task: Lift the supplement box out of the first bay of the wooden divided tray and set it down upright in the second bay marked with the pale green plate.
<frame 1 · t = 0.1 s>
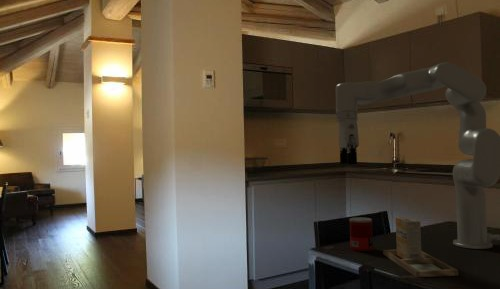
hand: (348, 163, 144), 31 cm above the table, tool pointing down, fingers open, 9 cm apart
wooden divided tray: (417, 263, 123), on the table
supplement box: (408, 259, 129), resting on wooden divided tray
canned food: (361, 249, 143), on the table
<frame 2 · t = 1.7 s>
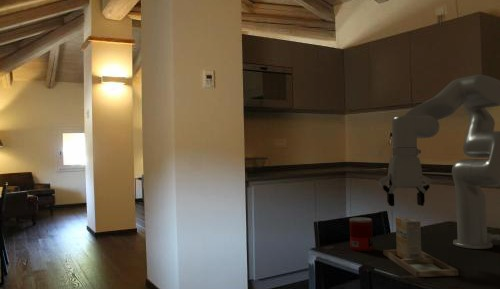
hand: (405, 205, 129), 17 cm above the table, tool pointing down, fingers open, 9 cm apart
nothing on the table moved.
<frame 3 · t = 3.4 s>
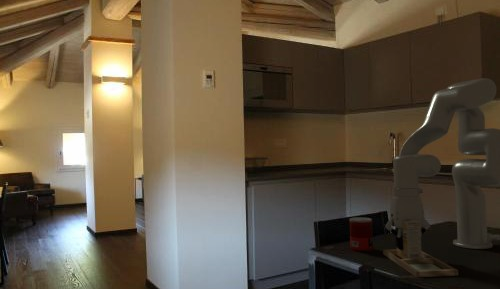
hand: (408, 248, 129), 3 cm above the table, tool pointing down, fingers closed on supplement box, 5 cm apart
supplement box: (408, 259, 129), resting on wooden divided tray, touching gripper
everything else where it was.
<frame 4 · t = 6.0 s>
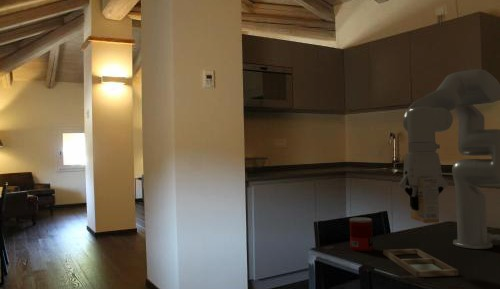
hand: (424, 208, 117), 18 cm above the table, tool pointing down, fingers closed on supplement box, 5 cm apart
supplement box: (424, 221, 117), point 14 cm above the table, touching gripper
everything else where it was.
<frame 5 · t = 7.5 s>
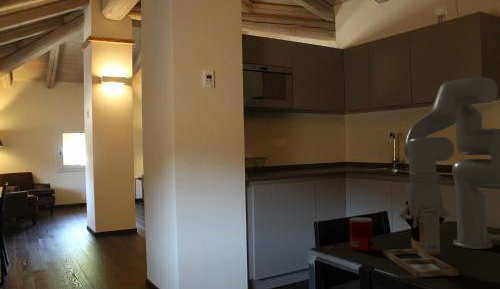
hand: (425, 239, 117), 9 cm above the table, tool pointing down, fingers closed on supplement box, 5 cm apart
supplement box: (425, 251, 117), point 5 cm above the table, touching gripper
everything else where it was.
when the fingers open (4 cm above the table, at t = 8.8 s): supplement box stays where it is, resting on wooden divided tray.
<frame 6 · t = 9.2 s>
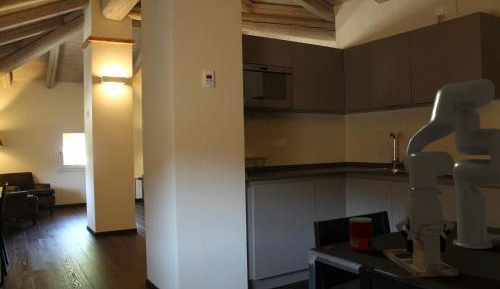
hand: (425, 251, 117), 5 cm above the table, tool pointing down, fingers open, 9 cm apart
supplement box: (426, 268, 117), resting on wooden divided tray
everything else where it was.
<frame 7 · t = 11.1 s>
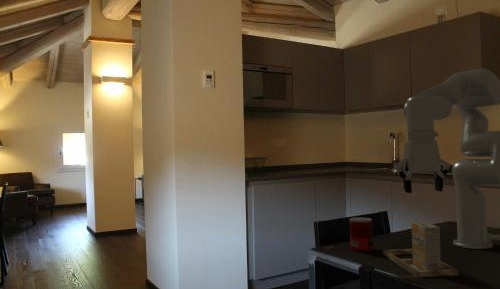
hand: (423, 191, 122), 23 cm above the table, tool pointing down, fingers open, 9 cm apart
nothing on the table moved.
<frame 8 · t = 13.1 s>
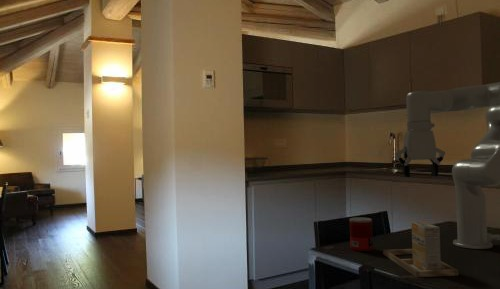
hand: (420, 176, 136), 26 cm above the table, tool pointing down, fingers open, 9 cm apart
nothing on the table moved.
at the end: supplement box inside the target area (0.1 cm from its centre), resting on wooden divided tray; supplement box tilted 0°; the gripper is holding nothing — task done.
